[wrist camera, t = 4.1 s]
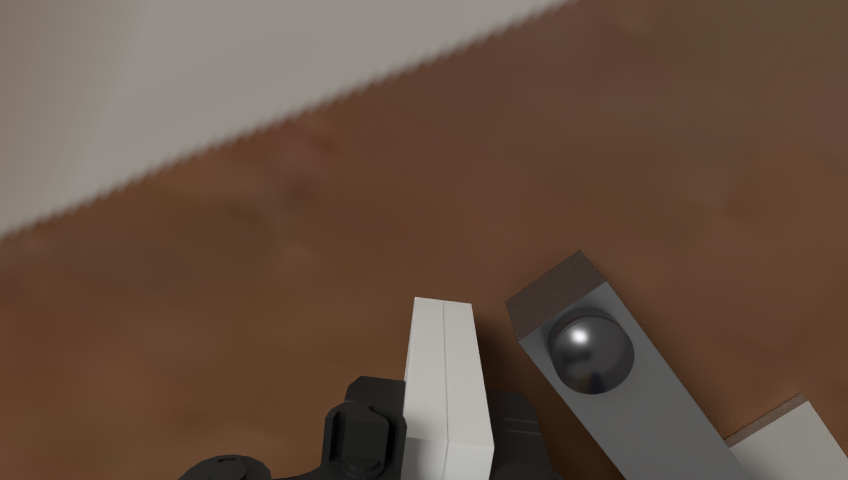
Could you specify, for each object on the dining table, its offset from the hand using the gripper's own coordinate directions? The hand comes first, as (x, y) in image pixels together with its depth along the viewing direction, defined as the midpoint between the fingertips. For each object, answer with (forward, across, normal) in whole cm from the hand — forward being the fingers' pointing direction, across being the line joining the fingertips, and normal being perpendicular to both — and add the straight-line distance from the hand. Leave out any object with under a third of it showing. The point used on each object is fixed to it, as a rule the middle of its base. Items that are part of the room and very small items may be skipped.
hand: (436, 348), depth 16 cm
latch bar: (+1, +8, -3) cm, 8 cm away
